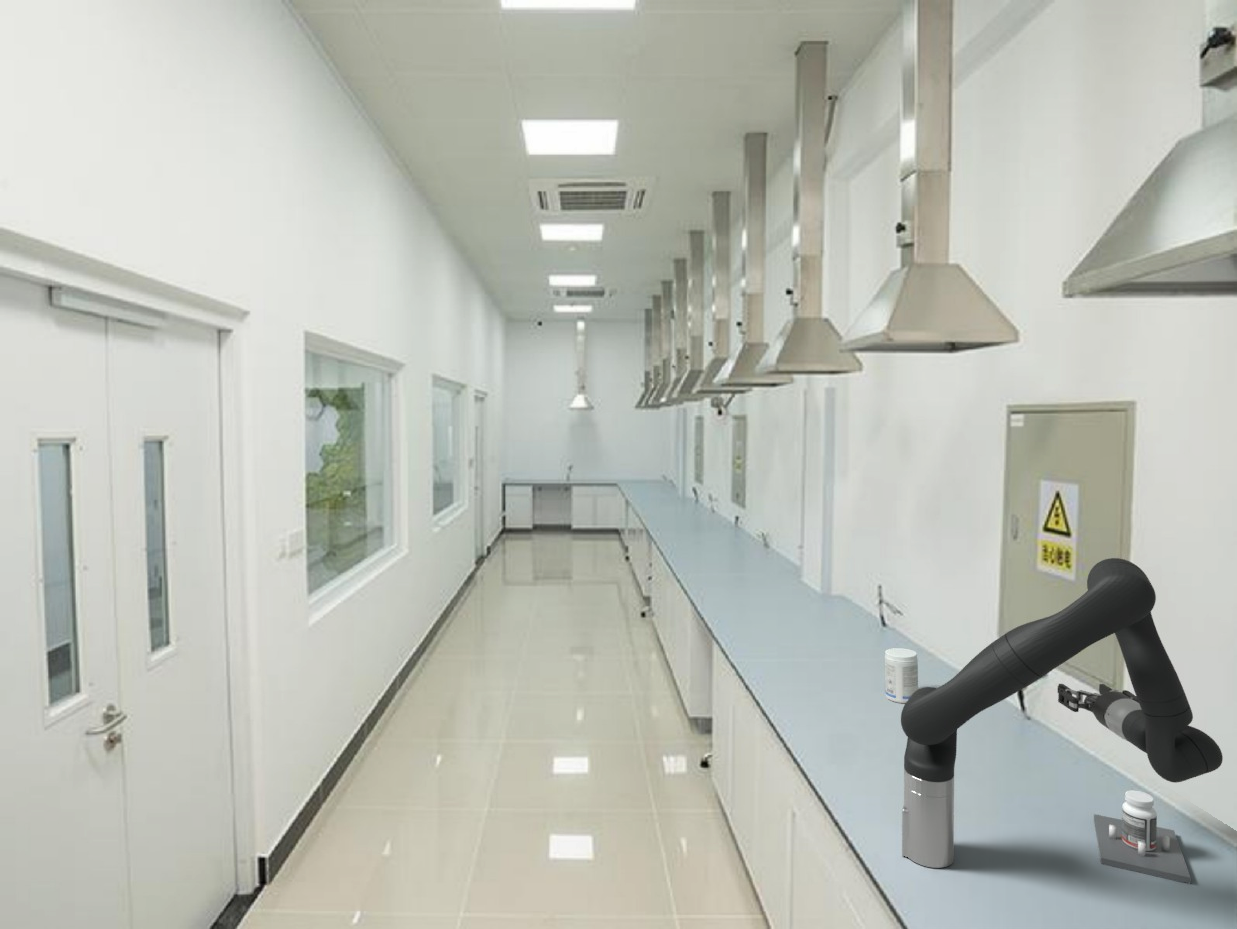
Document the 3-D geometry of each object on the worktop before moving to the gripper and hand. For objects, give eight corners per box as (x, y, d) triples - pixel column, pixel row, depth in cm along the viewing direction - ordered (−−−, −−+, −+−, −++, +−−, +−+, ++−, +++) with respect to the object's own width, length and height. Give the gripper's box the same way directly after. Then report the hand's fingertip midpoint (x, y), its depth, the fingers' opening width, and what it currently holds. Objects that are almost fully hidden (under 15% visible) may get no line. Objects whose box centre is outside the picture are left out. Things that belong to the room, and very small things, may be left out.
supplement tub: (918, 695, 234) (918, 649, 233) (917, 706, 225) (917, 658, 224) (885, 691, 238) (885, 646, 237) (883, 701, 229) (883, 655, 228)
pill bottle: (1142, 835, 152) (1143, 788, 151) (1163, 851, 146) (1164, 802, 146) (1114, 836, 152) (1115, 789, 151) (1134, 852, 146) (1135, 803, 146)
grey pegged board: (1101, 863, 145) (1101, 845, 145) (1093, 819, 161) (1094, 802, 160) (1190, 883, 138) (1191, 864, 138) (1173, 835, 154) (1174, 818, 154)
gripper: (1164, 699, 145) (1114, 671, 161) (1088, 698, 146) (1046, 670, 162) (1163, 736, 145) (1113, 704, 162) (1087, 735, 146) (1046, 704, 163)
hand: (1080, 687), depth 162 cm, fingers open, 8 cm apart
